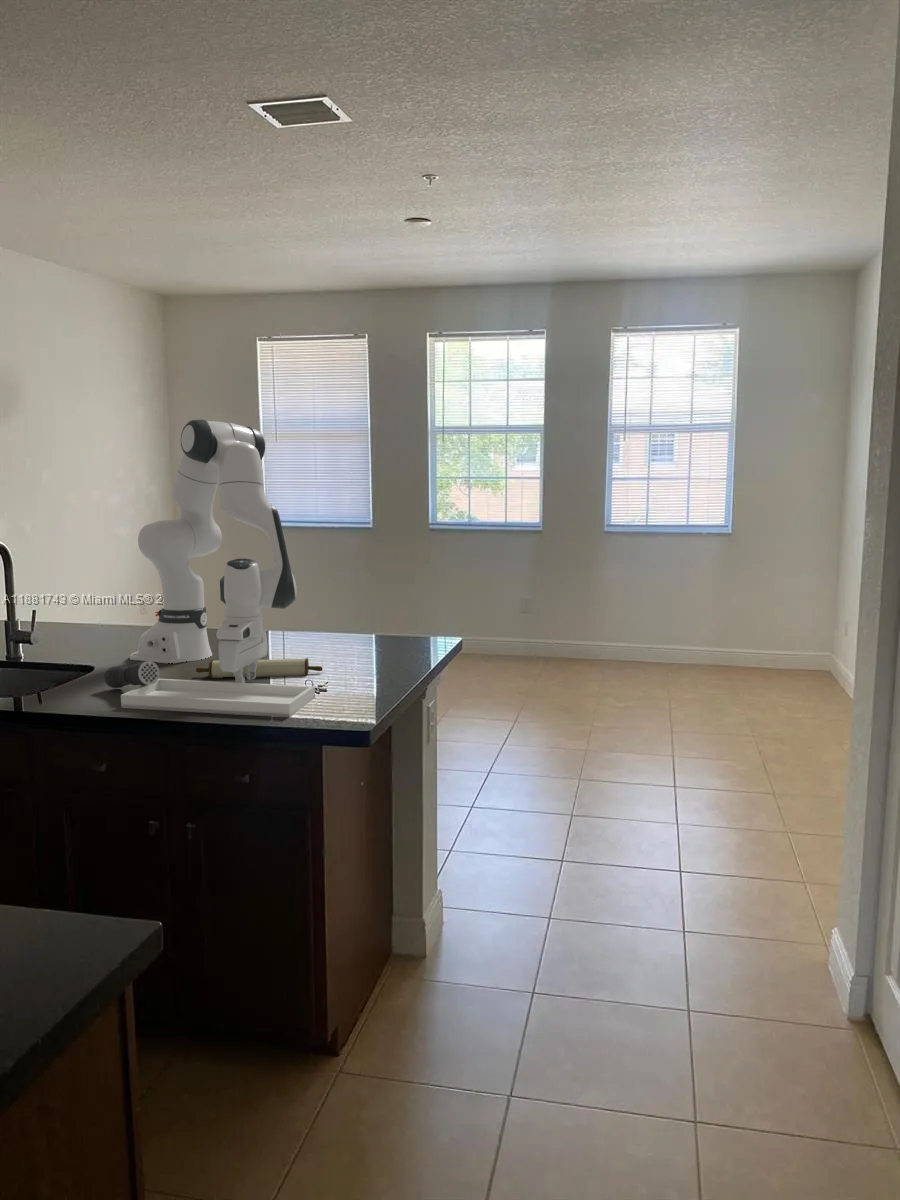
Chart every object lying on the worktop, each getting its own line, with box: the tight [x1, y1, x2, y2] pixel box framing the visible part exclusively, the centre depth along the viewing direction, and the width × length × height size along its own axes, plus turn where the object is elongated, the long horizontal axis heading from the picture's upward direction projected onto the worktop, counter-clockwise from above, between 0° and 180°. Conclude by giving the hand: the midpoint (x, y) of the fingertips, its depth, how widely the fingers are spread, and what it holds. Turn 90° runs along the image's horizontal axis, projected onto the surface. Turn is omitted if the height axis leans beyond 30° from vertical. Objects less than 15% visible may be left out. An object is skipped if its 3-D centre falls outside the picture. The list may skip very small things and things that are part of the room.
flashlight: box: [104, 661, 160, 689], centre depth 208 cm, size 15×5×5 cm
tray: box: [120, 678, 316, 718], centre depth 200 cm, size 40×16×3 cm, turn 79°
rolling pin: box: [195, 657, 323, 679], centre depth 225 cm, size 32×6×5 cm, turn 96°
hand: (245, 682), depth 213 cm, fingers open, 5 cm apart
